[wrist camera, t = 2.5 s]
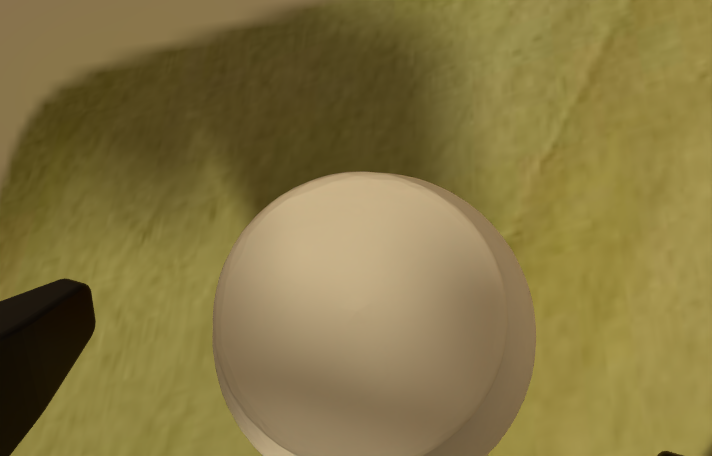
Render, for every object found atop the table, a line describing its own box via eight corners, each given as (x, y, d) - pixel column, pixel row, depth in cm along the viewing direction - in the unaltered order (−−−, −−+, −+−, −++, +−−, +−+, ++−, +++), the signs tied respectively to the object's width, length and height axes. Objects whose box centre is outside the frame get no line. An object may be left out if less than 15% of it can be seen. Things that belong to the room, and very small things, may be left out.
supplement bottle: (377, 219, 19) (336, 41, 9) (524, 336, 17) (668, 281, 8) (257, 359, 18) (68, 335, 8) (401, 491, 17) (384, 654, 7)
